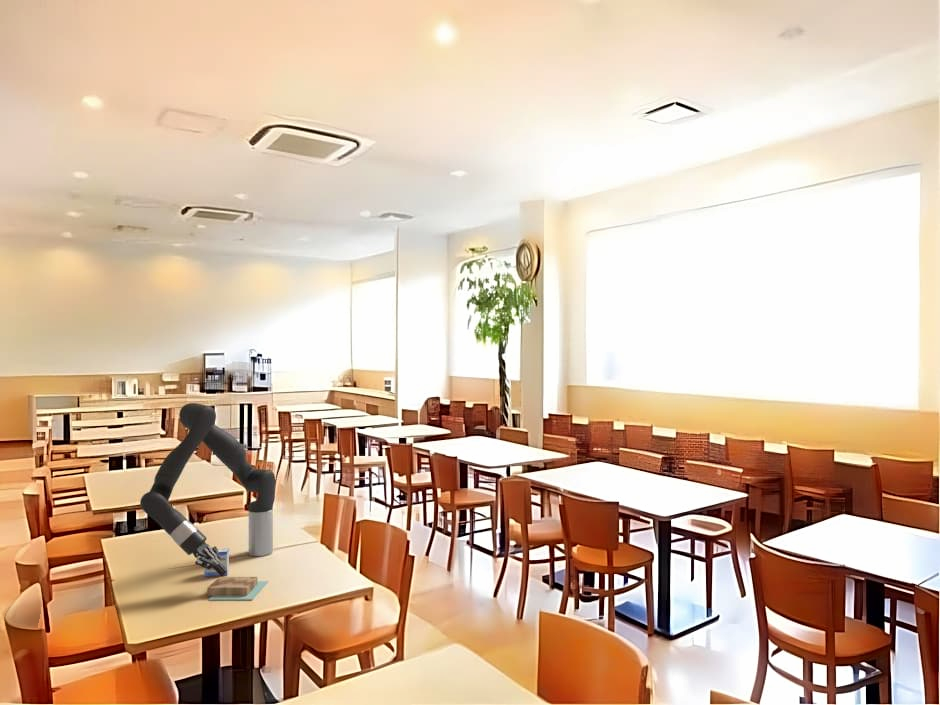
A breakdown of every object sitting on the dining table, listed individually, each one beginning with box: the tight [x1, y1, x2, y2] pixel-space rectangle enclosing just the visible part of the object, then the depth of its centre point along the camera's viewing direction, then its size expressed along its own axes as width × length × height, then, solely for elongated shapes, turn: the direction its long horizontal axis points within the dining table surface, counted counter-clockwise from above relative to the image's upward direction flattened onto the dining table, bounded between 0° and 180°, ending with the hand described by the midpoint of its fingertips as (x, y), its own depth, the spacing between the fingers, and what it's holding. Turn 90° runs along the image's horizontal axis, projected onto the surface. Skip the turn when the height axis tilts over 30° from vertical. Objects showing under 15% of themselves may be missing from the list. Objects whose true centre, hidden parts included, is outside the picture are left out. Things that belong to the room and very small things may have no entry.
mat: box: [208, 580, 269, 602], centre depth 211 cm, size 16×14×1 cm
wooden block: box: [206, 576, 258, 597], centre depth 211 cm, size 10×3×13 cm
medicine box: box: [203, 548, 230, 578], centre depth 227 cm, size 8×4×9 cm, turn 105°
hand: (224, 573), depth 211 cm, fingers closed
